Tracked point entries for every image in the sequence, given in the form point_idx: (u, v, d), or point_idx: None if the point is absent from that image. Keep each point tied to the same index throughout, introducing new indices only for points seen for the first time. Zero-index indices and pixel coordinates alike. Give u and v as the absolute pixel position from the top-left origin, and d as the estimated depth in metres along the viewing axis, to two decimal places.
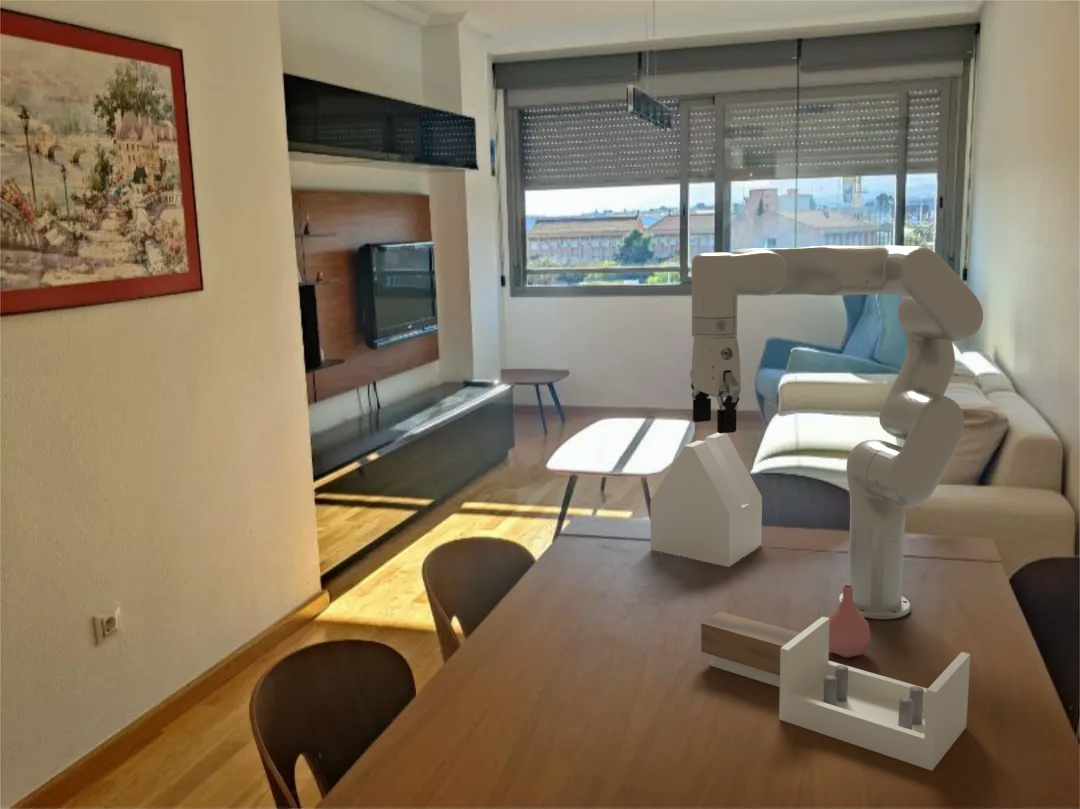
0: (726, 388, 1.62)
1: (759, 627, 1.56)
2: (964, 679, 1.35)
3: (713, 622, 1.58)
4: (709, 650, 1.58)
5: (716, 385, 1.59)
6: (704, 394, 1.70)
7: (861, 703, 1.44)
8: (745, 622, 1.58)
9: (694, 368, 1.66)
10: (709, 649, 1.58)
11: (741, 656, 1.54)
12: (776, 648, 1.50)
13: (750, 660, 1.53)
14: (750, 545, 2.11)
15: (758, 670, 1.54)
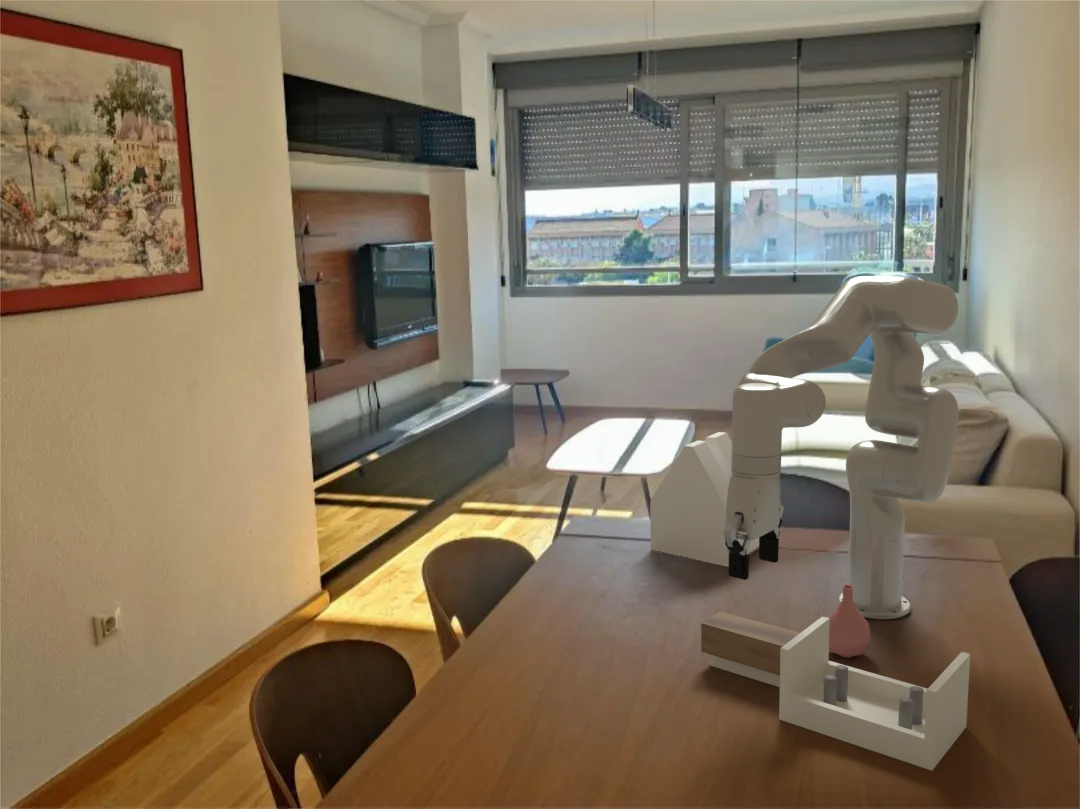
0: None
1: (759, 627, 1.56)
2: (964, 679, 1.35)
3: (713, 622, 1.58)
4: (709, 650, 1.58)
5: None
6: None
7: (861, 703, 1.44)
8: (745, 622, 1.58)
9: (759, 515, 1.48)
10: (709, 649, 1.58)
11: (741, 656, 1.54)
12: (776, 648, 1.50)
13: (750, 660, 1.53)
14: (750, 545, 2.11)
15: (758, 670, 1.54)
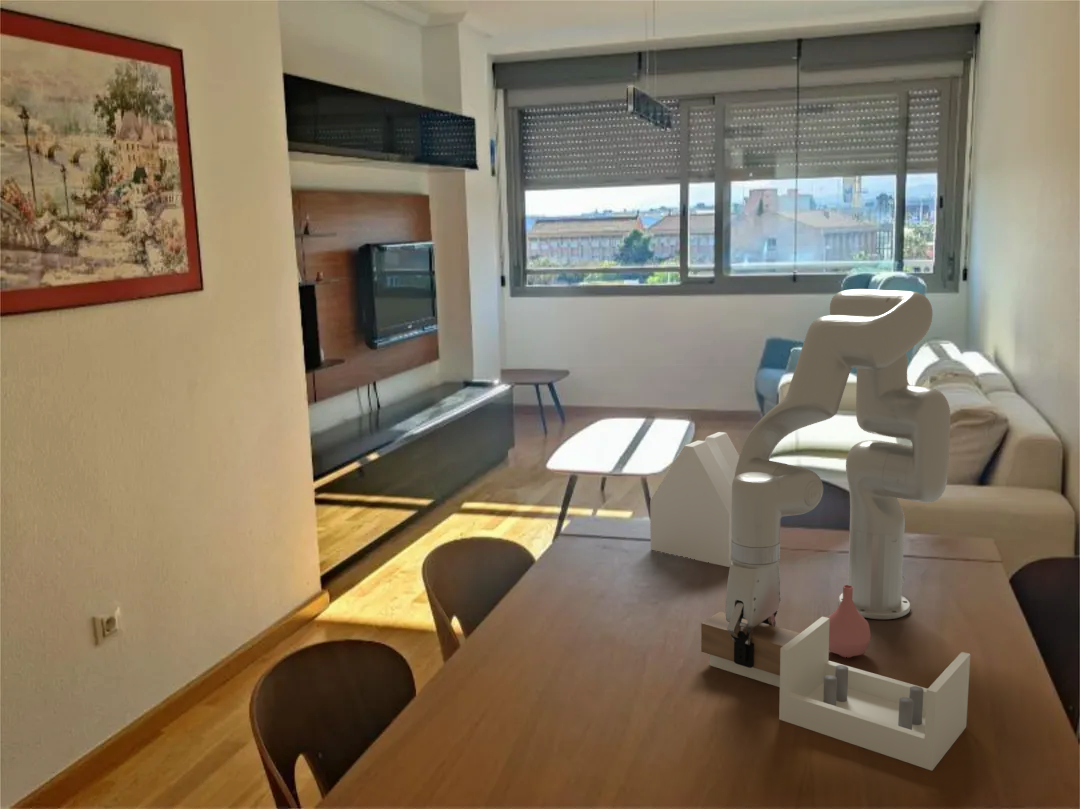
0: None
1: (759, 627, 1.56)
2: (964, 679, 1.35)
3: (713, 622, 1.58)
4: (709, 650, 1.58)
5: None
6: None
7: (861, 703, 1.44)
8: (745, 622, 1.58)
9: (759, 603, 1.51)
10: (709, 649, 1.58)
11: None
12: (776, 648, 1.50)
13: None
14: None
15: (758, 670, 1.54)
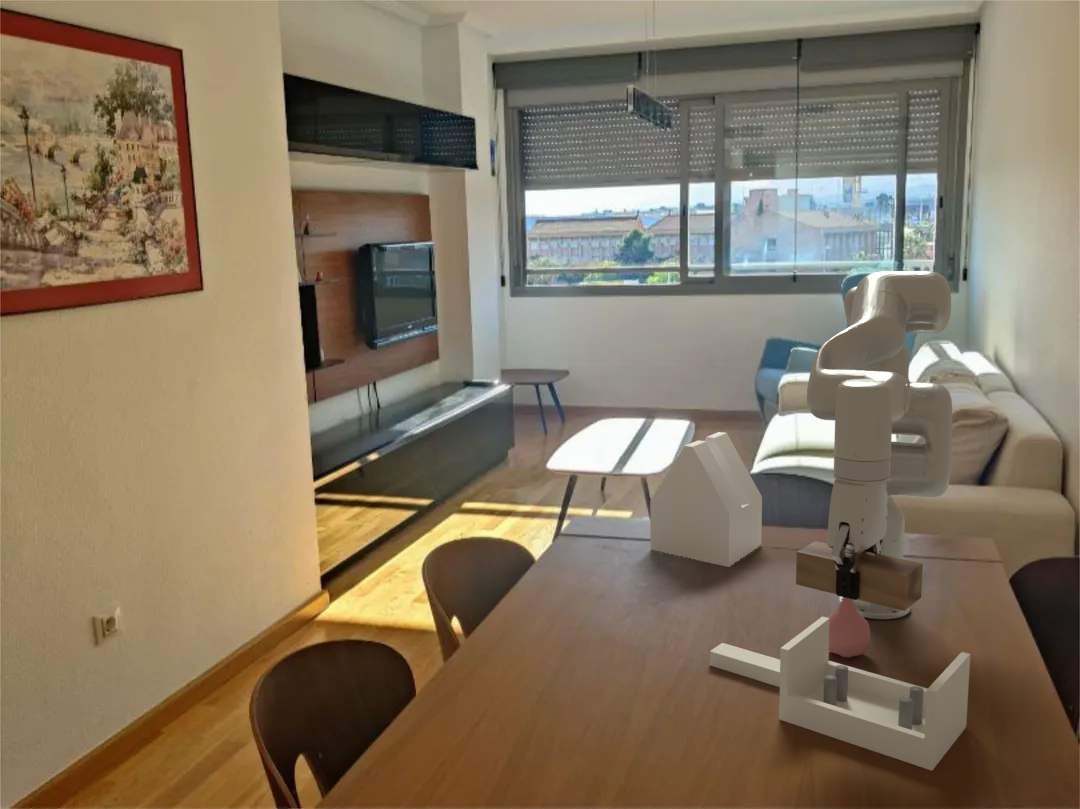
0: None
1: (863, 556, 1.39)
2: (964, 679, 1.35)
3: (810, 551, 1.41)
4: (805, 582, 1.41)
5: None
6: None
7: (861, 703, 1.44)
8: None
9: (867, 526, 1.33)
10: (806, 580, 1.41)
11: None
12: (886, 576, 1.32)
13: None
14: (749, 545, 2.11)
15: (758, 670, 1.54)
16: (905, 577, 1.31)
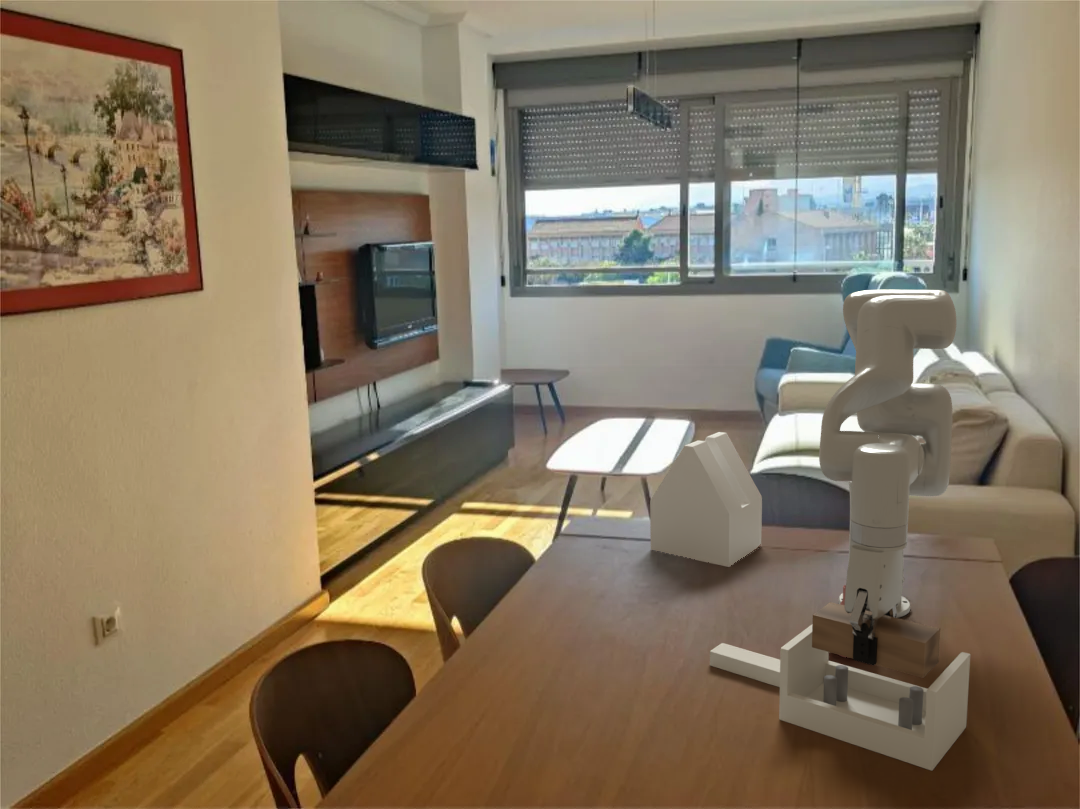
0: None
1: (880, 619, 1.38)
2: (964, 679, 1.35)
3: (826, 614, 1.40)
4: (821, 645, 1.40)
5: None
6: None
7: (861, 703, 1.44)
8: None
9: (884, 592, 1.33)
10: (822, 644, 1.40)
11: None
12: (905, 642, 1.32)
13: None
14: (749, 545, 2.11)
15: (758, 670, 1.54)
16: (924, 645, 1.30)
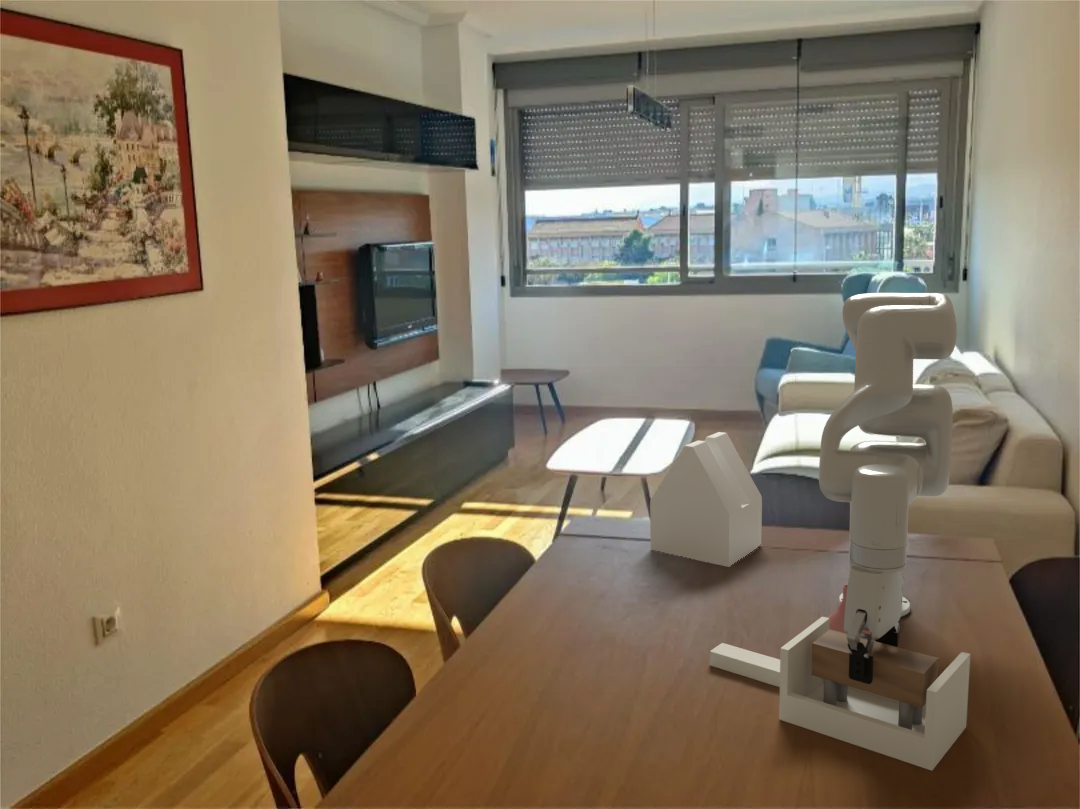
0: None
1: (879, 648, 1.39)
2: (964, 679, 1.35)
3: (825, 642, 1.42)
4: (821, 673, 1.41)
5: None
6: None
7: (861, 703, 1.44)
8: (861, 642, 1.41)
9: (884, 613, 1.33)
10: (821, 672, 1.41)
11: None
12: (903, 672, 1.33)
13: (871, 685, 1.36)
14: (749, 545, 2.11)
15: (758, 670, 1.54)
16: (923, 675, 1.31)
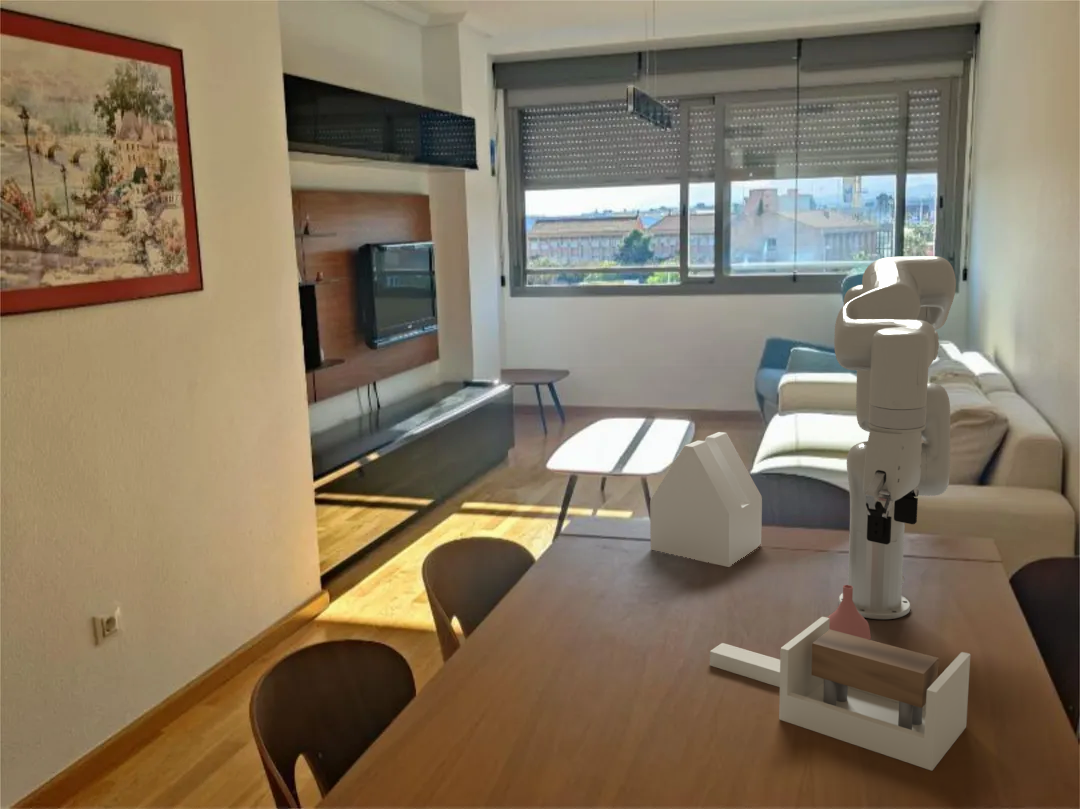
0: None
1: (879, 648, 1.39)
2: (964, 679, 1.35)
3: (825, 642, 1.42)
4: (821, 673, 1.41)
5: None
6: None
7: (861, 703, 1.44)
8: (861, 642, 1.41)
9: (903, 474, 1.34)
10: (821, 672, 1.41)
11: (860, 681, 1.37)
12: (903, 672, 1.33)
13: (871, 685, 1.36)
14: (749, 545, 2.11)
15: (758, 670, 1.54)
16: (923, 675, 1.31)
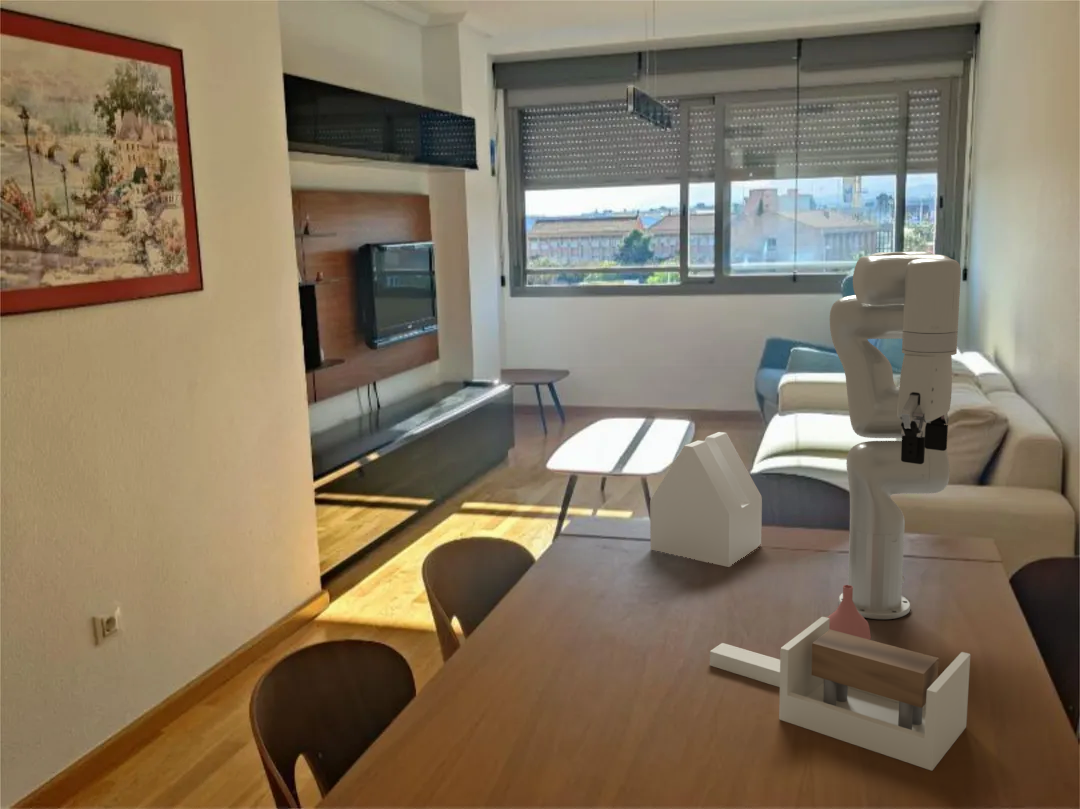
0: None
1: (879, 648, 1.39)
2: (964, 679, 1.35)
3: (825, 642, 1.42)
4: (821, 673, 1.41)
5: None
6: None
7: (861, 703, 1.44)
8: (861, 642, 1.41)
9: (936, 396, 1.41)
10: (821, 672, 1.41)
11: (860, 681, 1.37)
12: (903, 672, 1.33)
13: (871, 685, 1.36)
14: (749, 545, 2.11)
15: (758, 670, 1.54)
16: (923, 675, 1.31)
